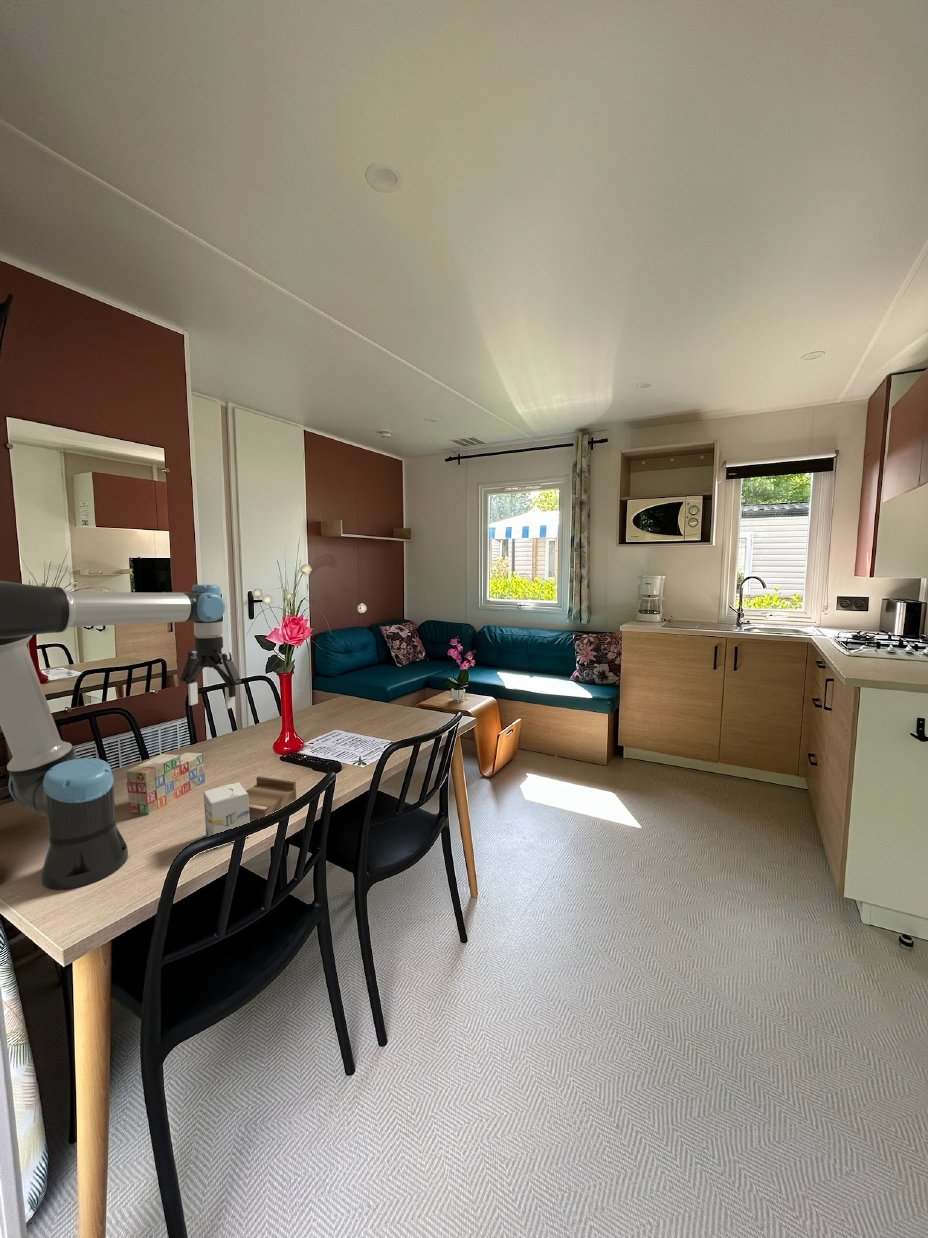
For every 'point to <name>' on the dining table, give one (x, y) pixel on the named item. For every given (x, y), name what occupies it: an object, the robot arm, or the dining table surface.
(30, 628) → the robot arm
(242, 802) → the ink box
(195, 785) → the stack of blocks
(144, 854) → the dining table surface
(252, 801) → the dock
